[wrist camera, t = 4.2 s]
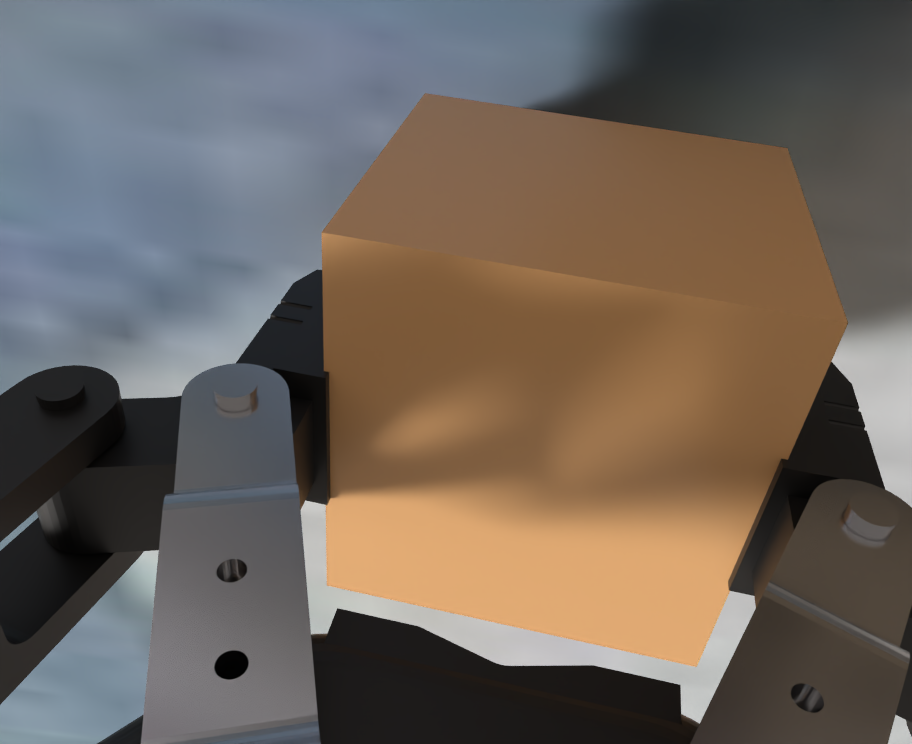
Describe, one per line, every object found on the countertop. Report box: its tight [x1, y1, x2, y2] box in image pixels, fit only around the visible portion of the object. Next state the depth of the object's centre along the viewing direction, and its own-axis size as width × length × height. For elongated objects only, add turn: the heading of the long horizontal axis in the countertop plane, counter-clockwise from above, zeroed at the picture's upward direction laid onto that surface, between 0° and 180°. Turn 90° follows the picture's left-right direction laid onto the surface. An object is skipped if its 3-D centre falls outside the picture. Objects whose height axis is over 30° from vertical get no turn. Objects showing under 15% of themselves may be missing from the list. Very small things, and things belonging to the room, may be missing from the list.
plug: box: [322, 93, 848, 667], centre depth 13 cm, size 6×6×8 cm
